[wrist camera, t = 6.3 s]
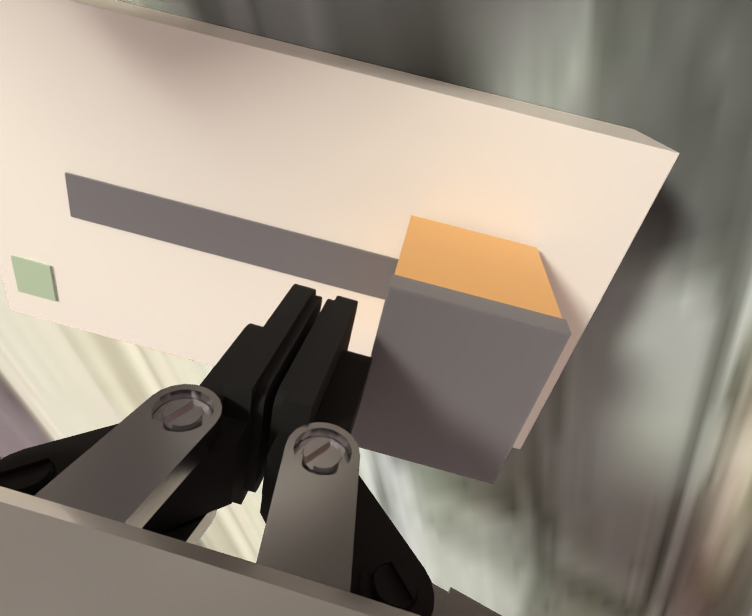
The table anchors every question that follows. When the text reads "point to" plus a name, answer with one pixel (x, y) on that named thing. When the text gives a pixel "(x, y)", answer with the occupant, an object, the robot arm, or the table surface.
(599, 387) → the table surface
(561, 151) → the slider base
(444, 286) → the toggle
